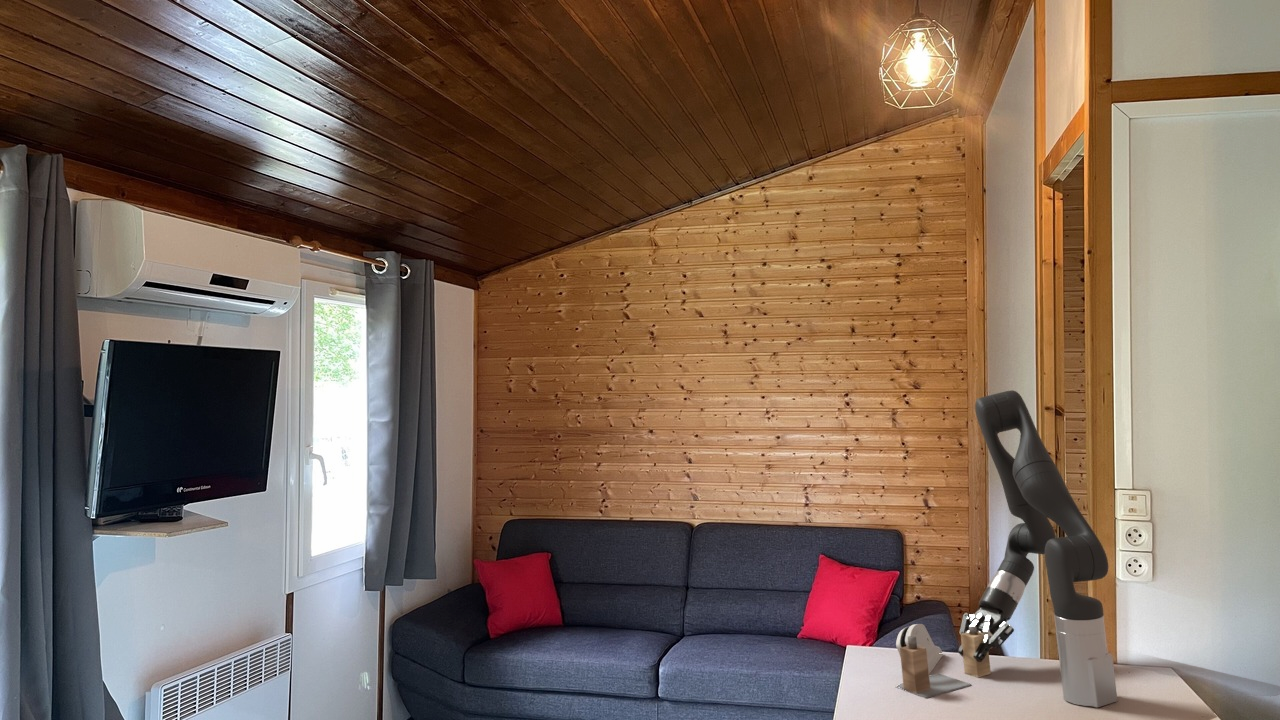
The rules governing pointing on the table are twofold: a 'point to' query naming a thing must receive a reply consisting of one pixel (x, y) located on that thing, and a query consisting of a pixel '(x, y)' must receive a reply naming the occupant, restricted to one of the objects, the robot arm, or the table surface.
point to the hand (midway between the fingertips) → (969, 657)
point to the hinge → (920, 643)
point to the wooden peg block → (969, 648)
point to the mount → (923, 673)
